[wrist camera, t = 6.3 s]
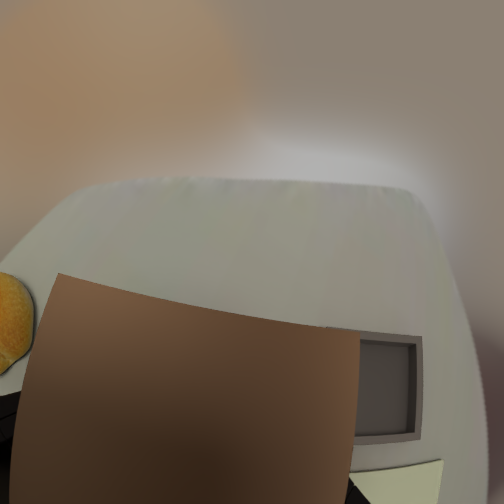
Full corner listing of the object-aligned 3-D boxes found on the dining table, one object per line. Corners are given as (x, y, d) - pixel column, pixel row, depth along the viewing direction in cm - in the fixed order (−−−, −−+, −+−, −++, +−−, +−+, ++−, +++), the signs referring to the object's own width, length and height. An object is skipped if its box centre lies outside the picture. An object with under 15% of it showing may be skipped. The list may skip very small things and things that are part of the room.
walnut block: (146, 462, 12) (10, 532, 2) (162, 376, 14) (58, 273, 4) (243, 480, 12) (316, 605, 2) (256, 393, 15) (359, 332, 4)
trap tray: (309, 443, 16) (316, 445, 15) (320, 333, 21) (327, 326, 19) (408, 439, 17) (420, 439, 15) (411, 341, 21) (422, 336, 20)
